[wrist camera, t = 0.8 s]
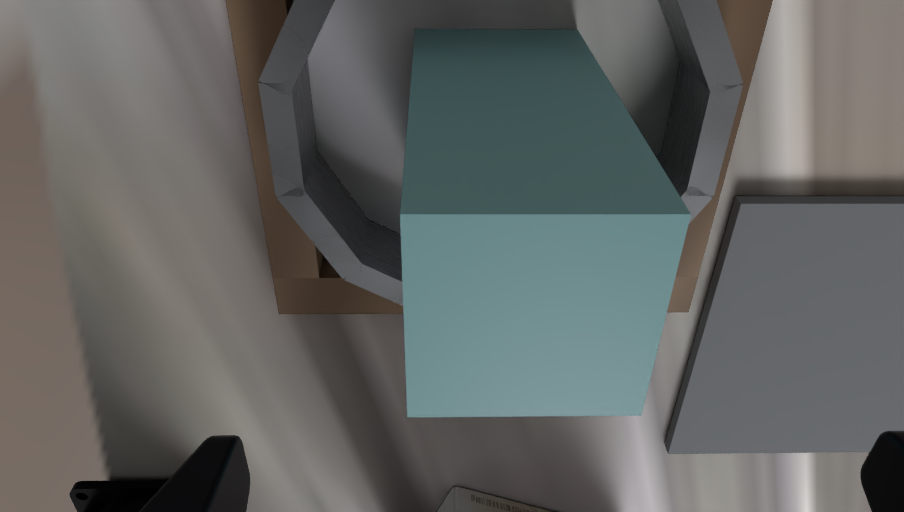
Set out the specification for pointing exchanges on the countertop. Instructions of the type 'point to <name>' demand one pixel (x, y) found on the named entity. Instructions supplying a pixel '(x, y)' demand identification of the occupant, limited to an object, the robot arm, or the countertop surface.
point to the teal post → (529, 231)
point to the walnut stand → (301, 263)
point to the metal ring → (379, 249)
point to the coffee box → (481, 503)
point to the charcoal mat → (799, 330)
